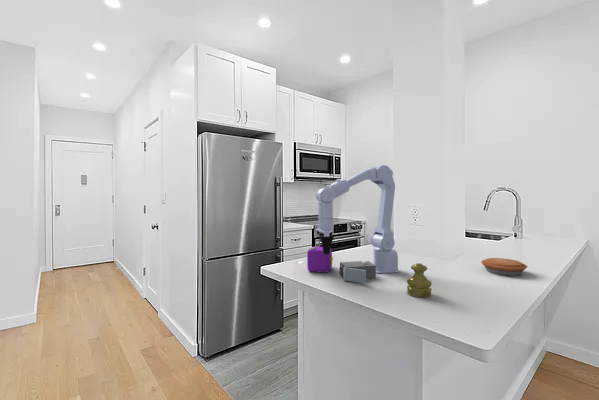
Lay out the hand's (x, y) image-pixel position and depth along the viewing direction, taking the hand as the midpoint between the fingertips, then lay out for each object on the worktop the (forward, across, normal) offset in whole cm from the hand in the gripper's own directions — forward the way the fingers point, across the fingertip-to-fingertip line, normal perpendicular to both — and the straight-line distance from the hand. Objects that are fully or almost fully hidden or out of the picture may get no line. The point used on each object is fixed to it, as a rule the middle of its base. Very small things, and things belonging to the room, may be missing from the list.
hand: (326, 251), depth 120 cm
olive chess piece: (+10, +22, +29) cm, 38 cm away
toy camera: (+10, -10, -2) cm, 15 cm away
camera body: (+10, +1, +12) cm, 16 cm away
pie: (+10, -5, +72) cm, 73 cm away
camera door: (+9, +9, +10) cm, 16 cm away
